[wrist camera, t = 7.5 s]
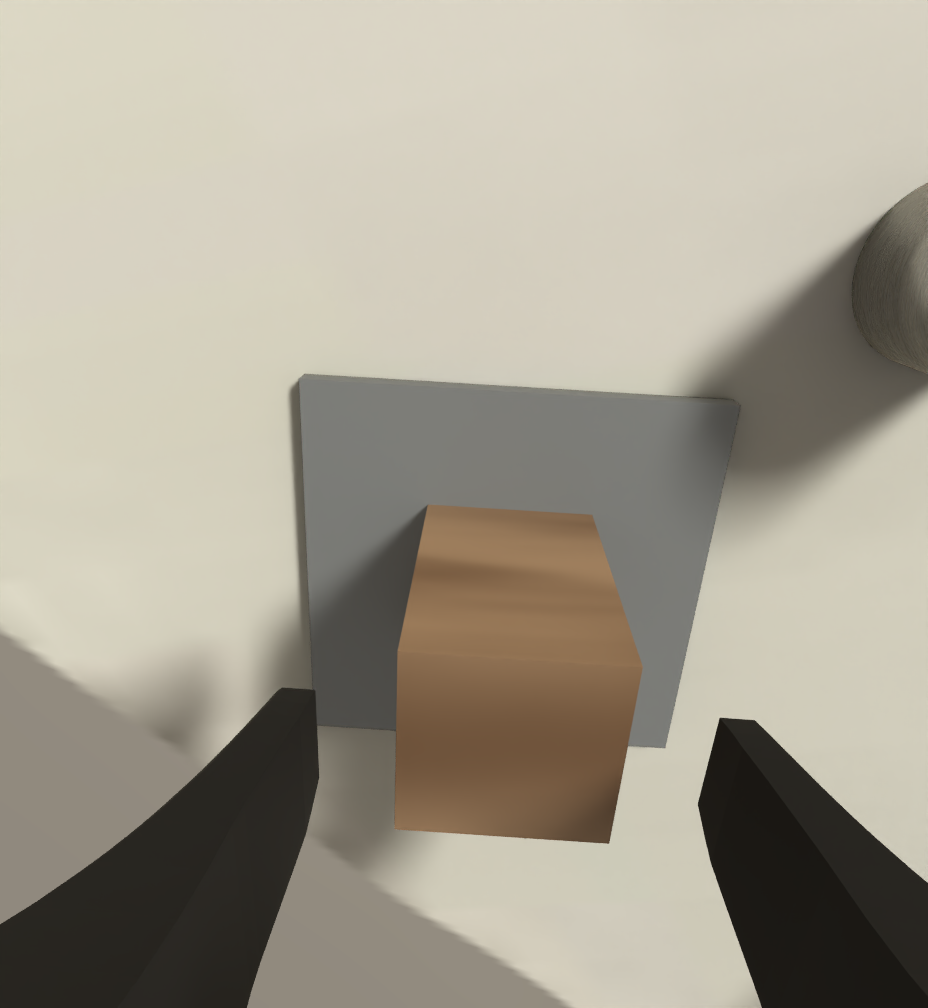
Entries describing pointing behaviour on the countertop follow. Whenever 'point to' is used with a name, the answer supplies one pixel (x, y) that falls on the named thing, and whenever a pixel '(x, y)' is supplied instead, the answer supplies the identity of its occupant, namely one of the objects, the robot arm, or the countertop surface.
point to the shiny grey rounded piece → (896, 283)
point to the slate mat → (500, 485)
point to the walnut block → (513, 679)
